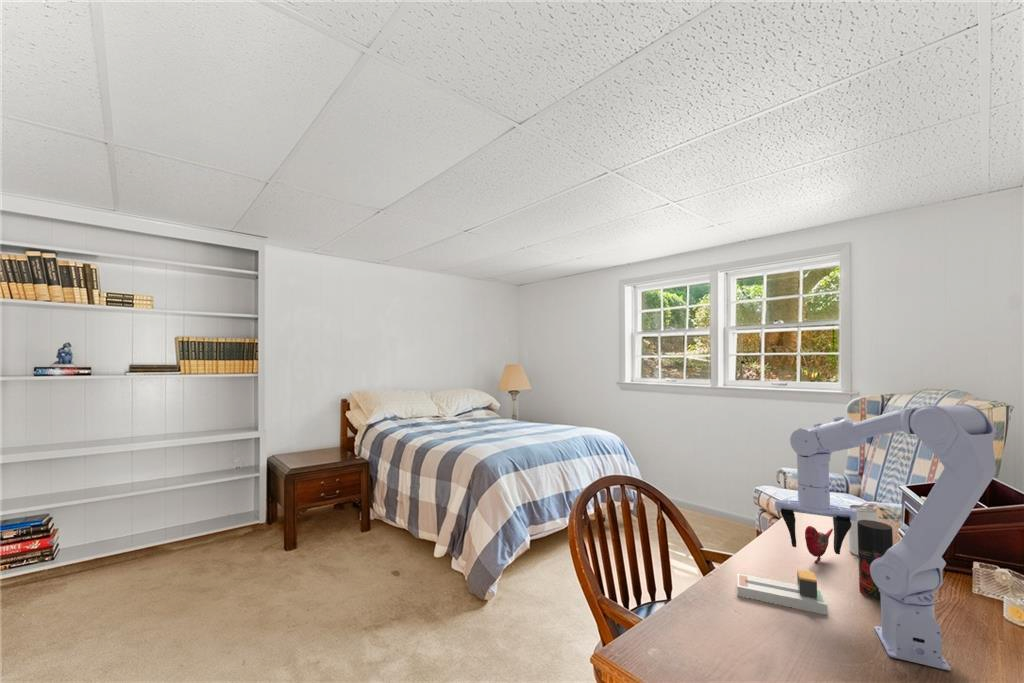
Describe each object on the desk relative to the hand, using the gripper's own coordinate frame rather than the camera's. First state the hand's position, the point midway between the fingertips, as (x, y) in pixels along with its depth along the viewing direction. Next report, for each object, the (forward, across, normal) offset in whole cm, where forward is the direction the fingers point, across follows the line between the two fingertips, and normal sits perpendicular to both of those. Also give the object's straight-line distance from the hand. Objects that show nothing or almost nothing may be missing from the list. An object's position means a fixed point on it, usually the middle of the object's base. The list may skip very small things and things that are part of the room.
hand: (815, 548), depth 96 cm
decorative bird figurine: (+11, -4, -23) cm, 26 cm away
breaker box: (+10, +7, +3) cm, 13 cm away
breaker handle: (+8, +2, +3) cm, 9 cm away
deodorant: (+11, -12, -8) cm, 18 cm away
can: (+11, -15, -33) cm, 38 cm away
